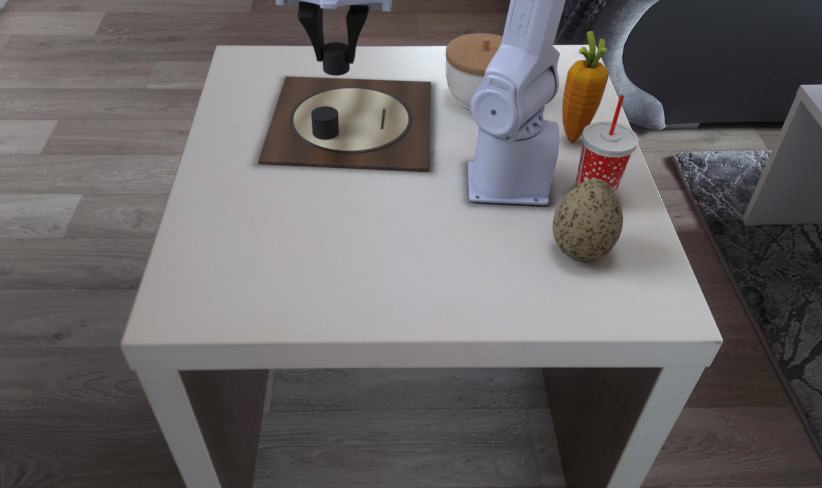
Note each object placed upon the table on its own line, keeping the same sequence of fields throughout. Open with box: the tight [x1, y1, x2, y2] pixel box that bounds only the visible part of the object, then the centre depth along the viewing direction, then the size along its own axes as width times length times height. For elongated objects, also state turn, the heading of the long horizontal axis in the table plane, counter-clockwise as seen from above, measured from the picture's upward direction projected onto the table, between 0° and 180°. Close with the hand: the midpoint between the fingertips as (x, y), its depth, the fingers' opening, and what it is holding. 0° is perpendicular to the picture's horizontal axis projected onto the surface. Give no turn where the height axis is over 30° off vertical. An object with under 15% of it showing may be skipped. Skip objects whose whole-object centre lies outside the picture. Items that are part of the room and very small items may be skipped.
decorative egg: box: [552, 179, 624, 262], centre depth 74 cm, size 7×7×10 cm
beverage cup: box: [574, 94, 640, 194], centre depth 79 cm, size 6×6×14 cm
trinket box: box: [444, 32, 503, 111], centre depth 98 cm, size 11×11×9 cm
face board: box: [257, 75, 432, 173], centre depth 97 cm, size 22×22×1 cm
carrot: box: [561, 30, 610, 144], centre depth 88 cm, size 5×5×15 cm
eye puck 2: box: [311, 106, 339, 140], centre depth 93 cm, size 4×4×3 cm
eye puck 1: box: [322, 41, 351, 77], centre depth 92 cm, size 4×4×3 cm
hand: (335, 59), depth 92 cm, fingers closed on eye puck 1, 3 cm apart
